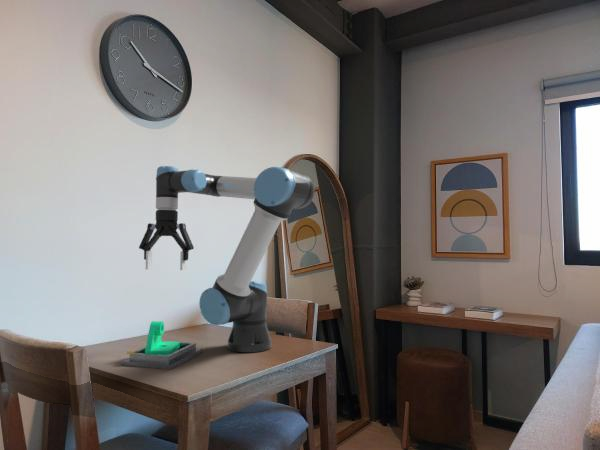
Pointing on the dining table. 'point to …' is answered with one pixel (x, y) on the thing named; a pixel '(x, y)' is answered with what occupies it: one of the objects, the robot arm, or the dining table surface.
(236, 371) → the dining table surface
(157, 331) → the camera mount
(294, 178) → the robot arm
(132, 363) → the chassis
